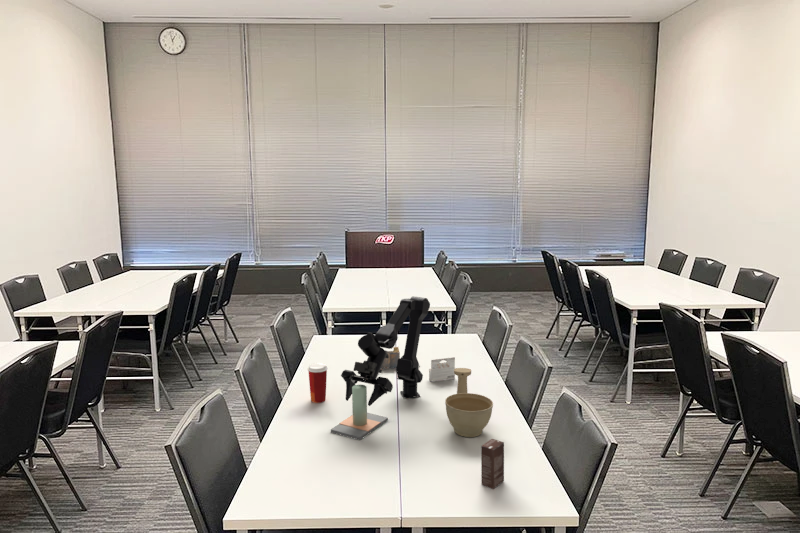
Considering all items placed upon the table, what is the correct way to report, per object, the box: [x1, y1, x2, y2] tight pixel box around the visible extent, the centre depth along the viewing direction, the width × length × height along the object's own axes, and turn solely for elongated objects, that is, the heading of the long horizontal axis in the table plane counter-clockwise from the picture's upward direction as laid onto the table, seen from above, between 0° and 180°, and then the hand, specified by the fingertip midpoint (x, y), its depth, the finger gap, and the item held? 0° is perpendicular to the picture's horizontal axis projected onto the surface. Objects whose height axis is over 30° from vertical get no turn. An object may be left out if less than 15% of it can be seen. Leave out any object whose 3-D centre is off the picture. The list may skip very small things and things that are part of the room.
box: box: [480, 438, 505, 490], centre depth 168 cm, size 6×4×12 cm
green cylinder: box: [351, 384, 368, 426], centre depth 205 cm, size 5×5×13 cm
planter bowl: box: [444, 392, 494, 438], centre depth 201 cm, size 16×16×11 cm
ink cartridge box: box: [428, 357, 456, 382], centre depth 251 cm, size 2×11×10 cm, turn 108°
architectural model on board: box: [381, 346, 401, 370], centre depth 266 cm, size 11×3×10 cm, turn 97°
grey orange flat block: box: [330, 412, 389, 441], centre depth 206 cm, size 18×12×1 cm, turn 150°
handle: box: [454, 367, 472, 394], centre depth 220 cm, size 5×6×15 cm
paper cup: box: [307, 362, 328, 404], centre depth 228 cm, size 8×8×14 cm
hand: (357, 402), depth 204 cm, fingers open, 9 cm apart
